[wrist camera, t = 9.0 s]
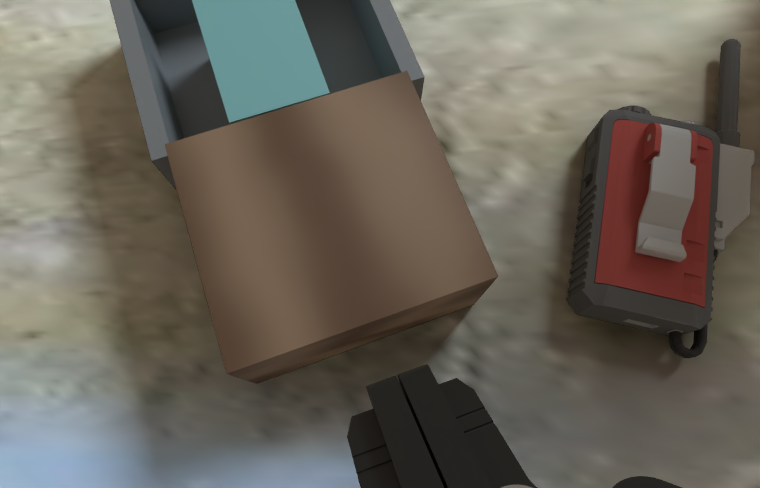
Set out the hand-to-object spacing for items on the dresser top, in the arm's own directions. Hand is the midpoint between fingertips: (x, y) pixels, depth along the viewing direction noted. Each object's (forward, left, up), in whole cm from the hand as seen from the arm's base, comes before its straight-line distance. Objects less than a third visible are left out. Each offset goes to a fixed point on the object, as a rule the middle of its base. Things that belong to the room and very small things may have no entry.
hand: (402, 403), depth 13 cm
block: (0, -15, -12) cm, 19 cm away
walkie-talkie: (-19, -7, -16) cm, 26 cm away
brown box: (0, -9, -15) cm, 18 cm away
